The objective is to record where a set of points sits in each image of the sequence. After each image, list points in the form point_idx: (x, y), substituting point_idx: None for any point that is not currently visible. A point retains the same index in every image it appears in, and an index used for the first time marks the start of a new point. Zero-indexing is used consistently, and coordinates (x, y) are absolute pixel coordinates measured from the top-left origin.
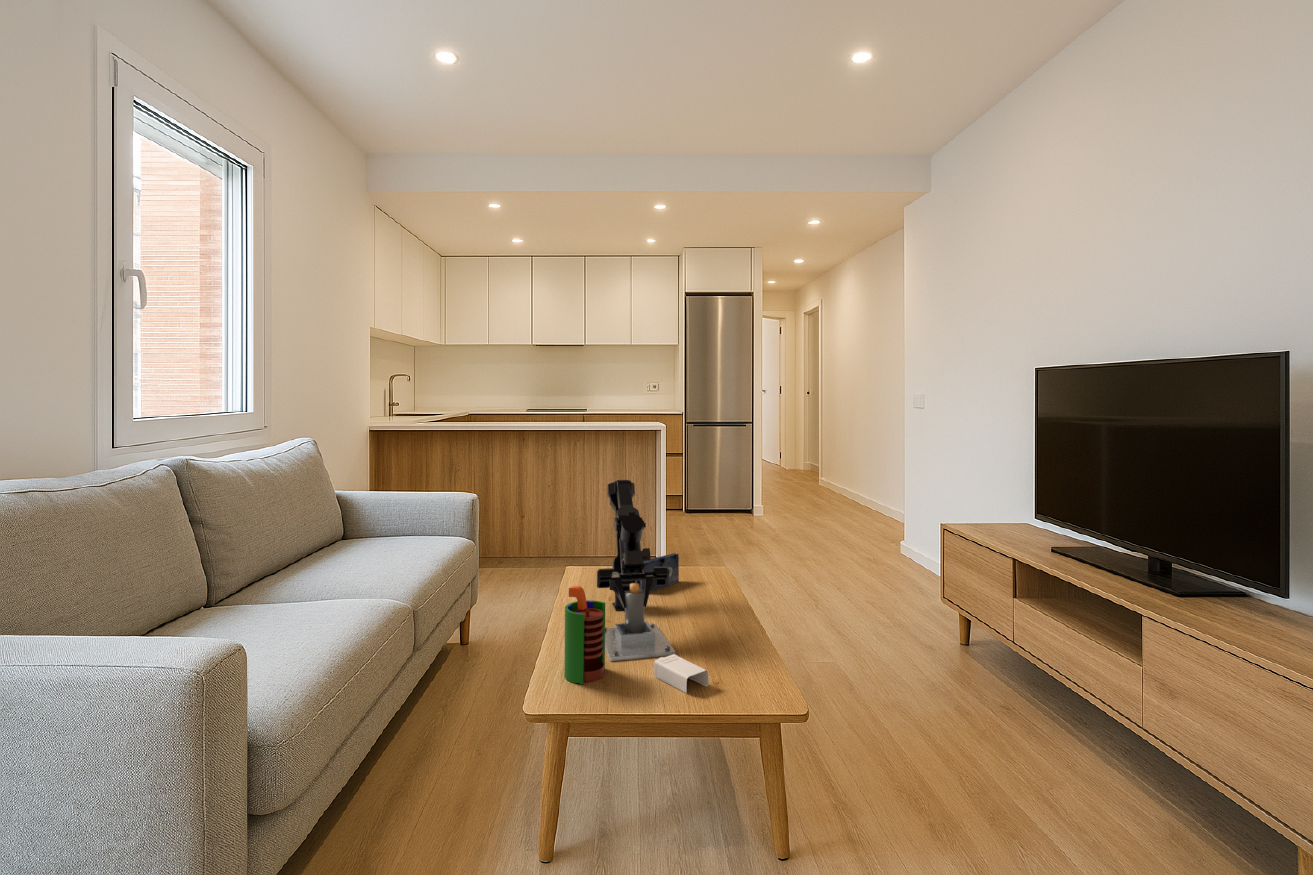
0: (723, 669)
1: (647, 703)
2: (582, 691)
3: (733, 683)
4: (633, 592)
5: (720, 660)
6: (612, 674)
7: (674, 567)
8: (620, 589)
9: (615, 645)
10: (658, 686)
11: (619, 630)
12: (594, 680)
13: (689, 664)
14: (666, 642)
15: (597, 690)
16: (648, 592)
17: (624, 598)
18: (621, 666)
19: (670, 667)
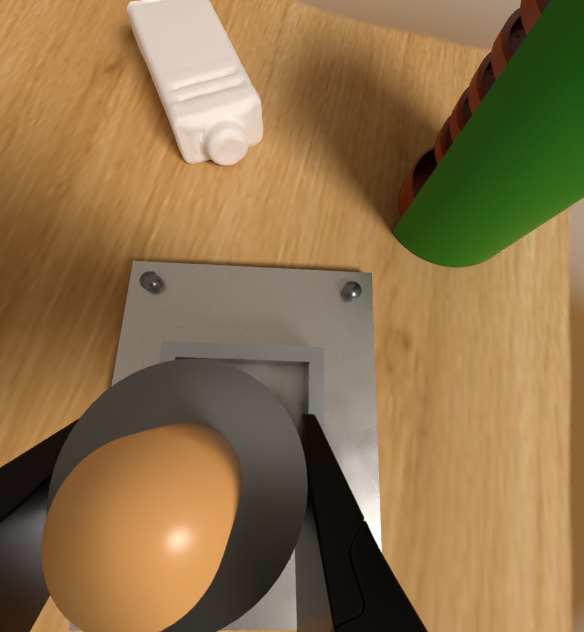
0: (47, 130)
1: (318, 33)
2: None
3: (73, 54)
4: (209, 429)
5: (15, 187)
6: (374, 189)
7: None
8: (362, 574)
9: (335, 380)
10: (268, 93)
11: (319, 417)
12: (428, 166)
13: (161, 44)
14: (127, 353)
15: (424, 116)
16: (7, 469)
17: (308, 460)
18: (338, 233)
19: (226, 45)
